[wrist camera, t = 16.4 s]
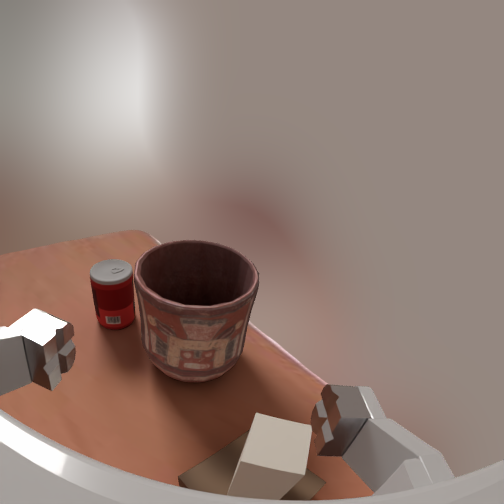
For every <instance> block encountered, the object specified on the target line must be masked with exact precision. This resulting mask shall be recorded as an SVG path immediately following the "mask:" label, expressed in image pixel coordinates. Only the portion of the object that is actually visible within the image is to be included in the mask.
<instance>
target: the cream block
mask: <svg viewBox="0 0 504 504" xmlns="http://www.w3.org/2000/svg"><path fill="white" fill-rule="evenodd" d="M311 434H312V428H311V425H307V424H302V423H297V422H293V421H288V420H284V419H280V418H275V417H271V416H267V415H264V414H260V413H256V414H255V417H254V420H253V423H252V426H251V429H250V431H249V434H248V437H247V440H246V443H245V445H244V448H243V451H242V453H241V456H240V459H239V461H238V464H237V467H236V470H235V473H234V476H233V479H232V482H231V485H230V487H229V490H228V493H227V496H235V497H244V498H254V499H267V500H280V499H281V498H282V497H283V496H284V495H285V494H286V493H287V492H288V491H289V490H290V489H291V488H292V487H293V486H294V485H295V484H296V483H297V482H298V481H299V480H300V479H301V478H302V477H303V476H304V475H305V471H306V465H307V459H308V453H309V447H310V440H311Z"/></svg>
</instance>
